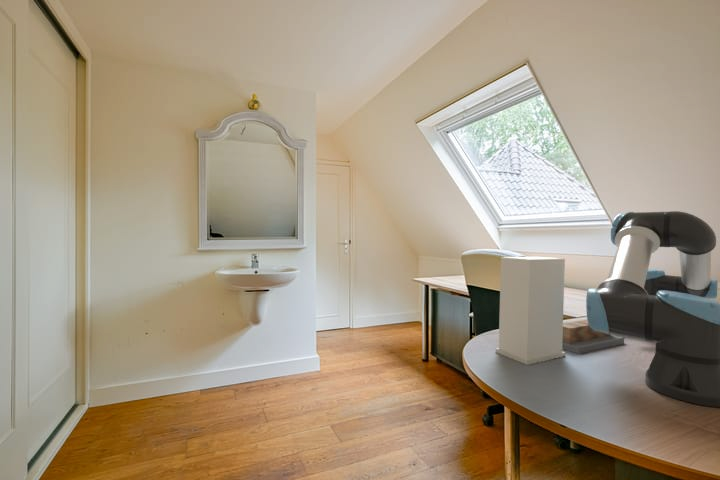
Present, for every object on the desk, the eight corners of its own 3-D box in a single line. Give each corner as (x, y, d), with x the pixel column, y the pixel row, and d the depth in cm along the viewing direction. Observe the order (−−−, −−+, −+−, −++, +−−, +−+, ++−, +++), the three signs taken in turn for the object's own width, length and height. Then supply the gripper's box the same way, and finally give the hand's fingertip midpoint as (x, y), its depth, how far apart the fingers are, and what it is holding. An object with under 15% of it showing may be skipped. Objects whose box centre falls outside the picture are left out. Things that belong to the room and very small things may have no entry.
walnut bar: (595, 331, 124) (596, 318, 123) (611, 335, 119) (611, 321, 119) (554, 339, 113) (554, 324, 113) (569, 343, 108) (569, 328, 108)
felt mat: (587, 333, 127) (587, 328, 127) (624, 343, 117) (624, 337, 117) (543, 342, 116) (543, 336, 116) (578, 353, 105) (579, 347, 105)
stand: (532, 345, 113) (534, 256, 112) (565, 356, 103) (567, 258, 102) (495, 352, 105) (498, 257, 105) (527, 364, 95) (530, 259, 94)
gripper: (679, 327, 121) (649, 334, 112) (603, 312, 143) (573, 317, 134) (680, 306, 121) (650, 312, 112) (604, 295, 143) (574, 298, 134)
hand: (608, 314), depth 123 cm, fingers open, 13 cm apart
